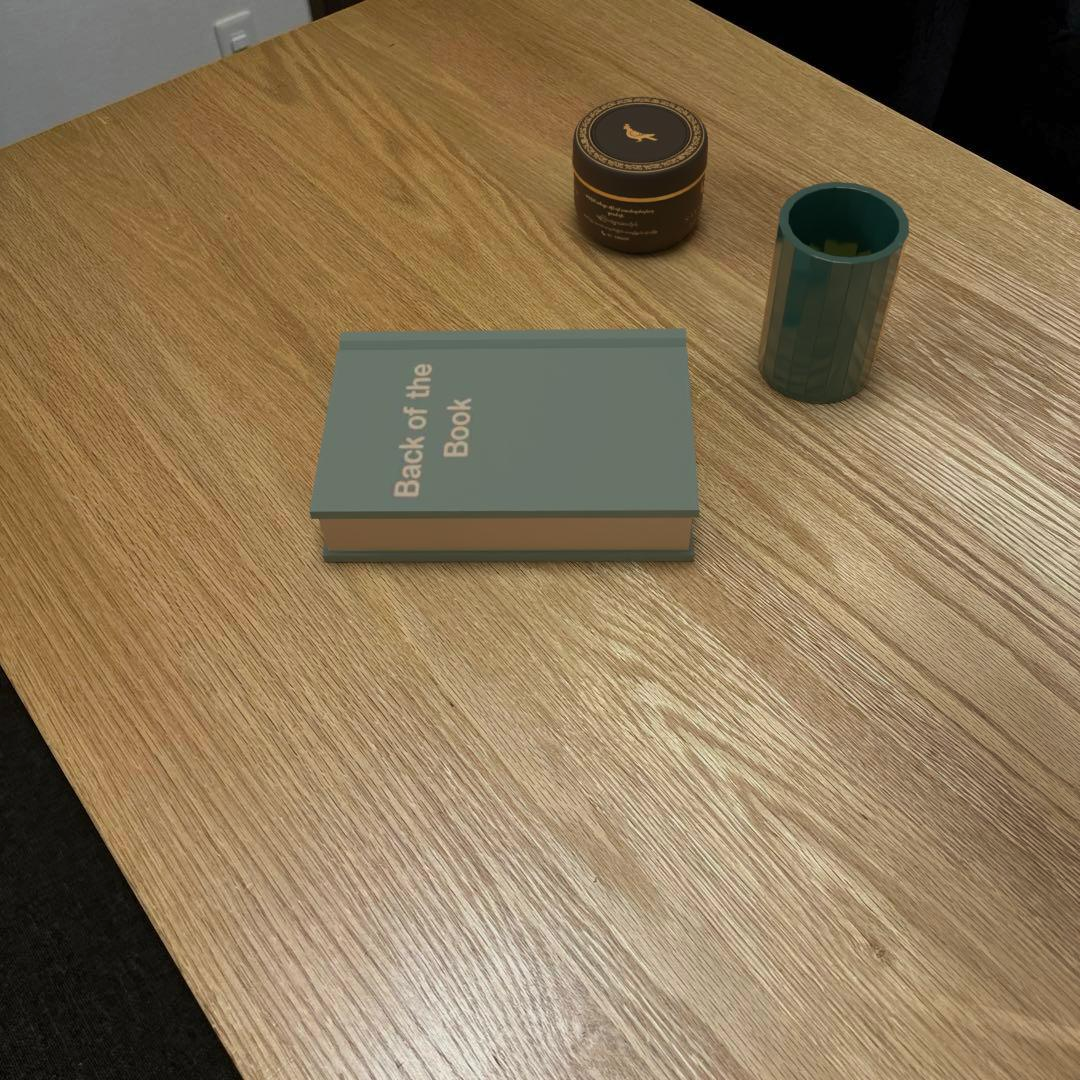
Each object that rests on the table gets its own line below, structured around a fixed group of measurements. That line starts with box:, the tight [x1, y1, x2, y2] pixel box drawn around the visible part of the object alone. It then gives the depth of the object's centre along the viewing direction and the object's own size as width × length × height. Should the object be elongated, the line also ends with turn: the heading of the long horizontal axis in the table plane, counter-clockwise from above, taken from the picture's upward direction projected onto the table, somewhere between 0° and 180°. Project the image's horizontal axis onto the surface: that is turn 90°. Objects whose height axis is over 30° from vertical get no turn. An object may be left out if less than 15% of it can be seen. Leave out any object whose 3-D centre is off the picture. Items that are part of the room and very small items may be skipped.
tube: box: [757, 181, 910, 405], centre depth 78 cm, size 8×8×12 cm
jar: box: [571, 96, 709, 255], centre depth 89 cm, size 10×10×8 cm
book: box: [308, 327, 700, 563], centre depth 76 cm, size 23×16×5 cm
